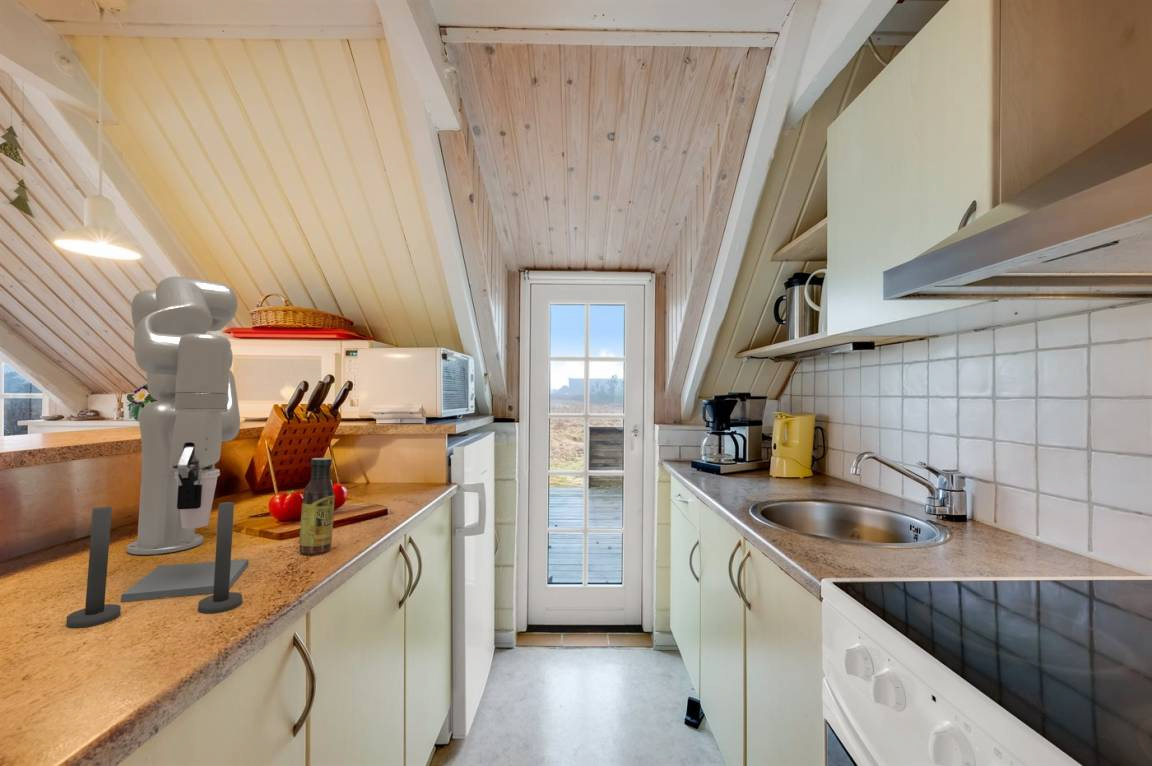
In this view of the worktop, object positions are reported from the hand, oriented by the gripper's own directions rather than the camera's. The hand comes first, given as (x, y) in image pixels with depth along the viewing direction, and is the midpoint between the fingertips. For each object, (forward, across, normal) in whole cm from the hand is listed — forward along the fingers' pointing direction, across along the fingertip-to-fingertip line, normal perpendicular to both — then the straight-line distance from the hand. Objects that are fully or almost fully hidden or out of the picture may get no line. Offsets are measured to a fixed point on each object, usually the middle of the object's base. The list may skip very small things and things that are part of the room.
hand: (196, 503), depth 86 cm
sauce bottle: (+14, -13, +18) cm, 26 cm away
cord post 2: (+14, +13, +8) cm, 20 cm away
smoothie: (+4, 0, 0) cm, 4 cm away
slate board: (+14, 0, 0) cm, 14 cm away
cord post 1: (+14, +13, -8) cm, 20 cm away
